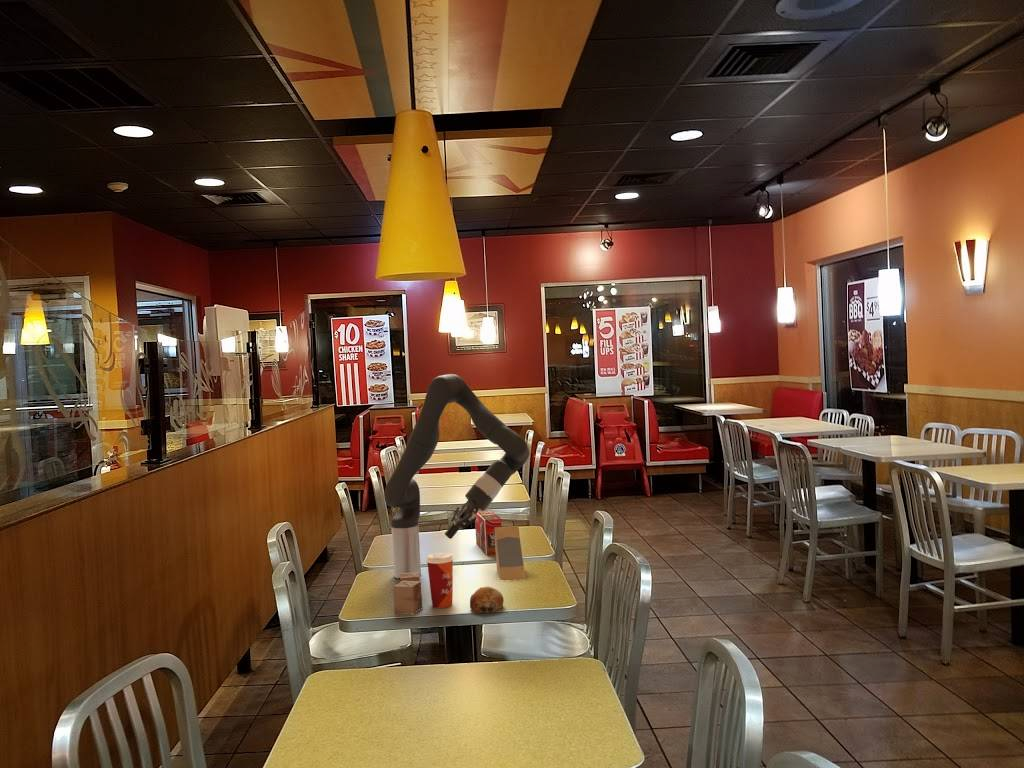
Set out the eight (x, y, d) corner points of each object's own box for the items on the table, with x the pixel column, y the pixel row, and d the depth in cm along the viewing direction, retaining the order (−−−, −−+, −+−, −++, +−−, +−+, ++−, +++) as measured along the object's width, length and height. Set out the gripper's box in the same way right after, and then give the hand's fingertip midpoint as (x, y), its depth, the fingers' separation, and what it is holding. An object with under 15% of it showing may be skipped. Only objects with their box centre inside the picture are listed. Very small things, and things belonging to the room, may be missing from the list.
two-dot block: (401, 598, 255) (399, 572, 254) (420, 597, 255) (419, 571, 255) (401, 604, 249) (399, 577, 248) (420, 602, 249) (419, 576, 249)
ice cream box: (476, 544, 325) (474, 511, 325) (492, 542, 327) (490, 509, 326) (486, 555, 306) (484, 520, 306) (502, 553, 307) (501, 518, 307)
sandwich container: (500, 581, 269) (498, 536, 268) (496, 570, 284) (493, 527, 284) (526, 579, 270) (524, 534, 269) (520, 568, 285) (518, 525, 285)
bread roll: (507, 618, 241) (511, 591, 244) (492, 613, 233) (496, 584, 236) (477, 615, 245) (481, 588, 248) (461, 610, 237) (466, 582, 240)
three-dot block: (403, 607, 246) (402, 580, 245) (422, 608, 244) (420, 580, 243) (394, 613, 240) (393, 585, 240) (413, 614, 238) (412, 586, 238)
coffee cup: (451, 609, 240) (449, 558, 240) (424, 609, 242) (422, 558, 242) (459, 601, 249) (456, 551, 248) (433, 600, 250) (430, 551, 250)
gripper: (467, 481, 255) (432, 525, 251) (482, 486, 243) (445, 533, 239) (484, 496, 257) (449, 540, 253) (500, 502, 245) (463, 548, 241)
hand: (447, 536), depth 246 cm, fingers closed
